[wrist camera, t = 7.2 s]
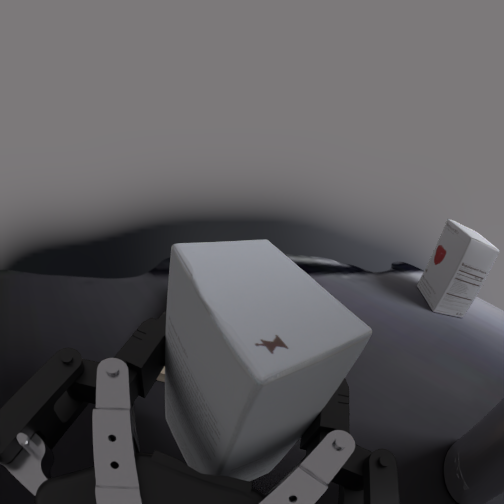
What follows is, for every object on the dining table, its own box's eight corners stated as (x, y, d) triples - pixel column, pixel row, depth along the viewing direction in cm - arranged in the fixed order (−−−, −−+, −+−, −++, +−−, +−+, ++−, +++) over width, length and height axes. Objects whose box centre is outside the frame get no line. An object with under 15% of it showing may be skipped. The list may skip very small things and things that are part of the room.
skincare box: (271, 472, 13) (381, 332, 7) (205, 499, 10) (257, 387, 5) (223, 399, 17) (268, 235, 12) (162, 415, 15) (165, 240, 9)
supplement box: (415, 285, 49) (446, 216, 43) (445, 293, 49) (476, 230, 43) (432, 312, 41) (471, 236, 35) (463, 319, 41) (501, 250, 35)
